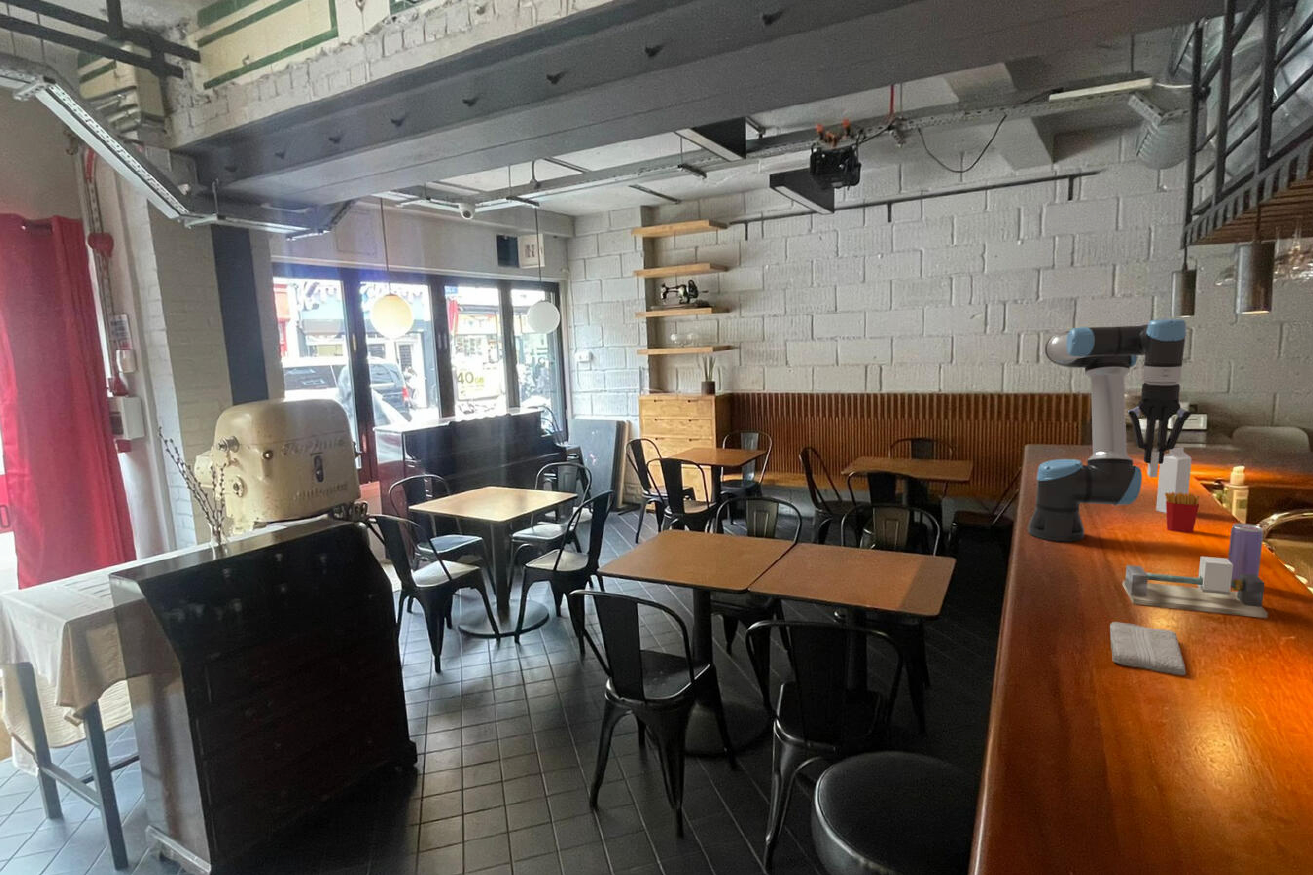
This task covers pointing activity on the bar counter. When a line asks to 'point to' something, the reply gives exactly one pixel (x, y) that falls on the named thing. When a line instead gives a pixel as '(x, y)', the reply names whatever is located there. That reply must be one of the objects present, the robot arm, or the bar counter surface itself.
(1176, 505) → the french fries
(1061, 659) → the bar counter surface
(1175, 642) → the washcloth
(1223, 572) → the light grey cube
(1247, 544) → the beverage can
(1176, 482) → the milk
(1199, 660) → the bar counter surface
